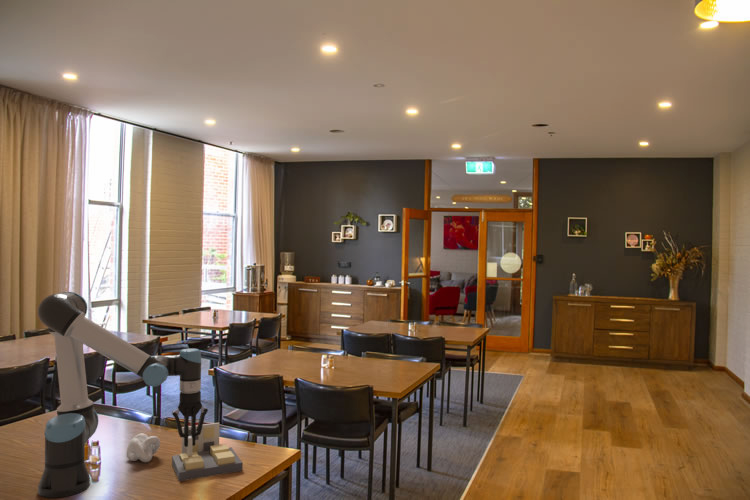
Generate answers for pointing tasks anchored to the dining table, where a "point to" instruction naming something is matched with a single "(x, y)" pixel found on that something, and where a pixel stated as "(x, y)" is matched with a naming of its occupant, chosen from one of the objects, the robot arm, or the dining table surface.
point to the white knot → (142, 447)
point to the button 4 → (224, 458)
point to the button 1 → (187, 455)
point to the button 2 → (193, 462)
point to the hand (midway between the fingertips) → (189, 454)
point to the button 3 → (218, 449)
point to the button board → (205, 455)
